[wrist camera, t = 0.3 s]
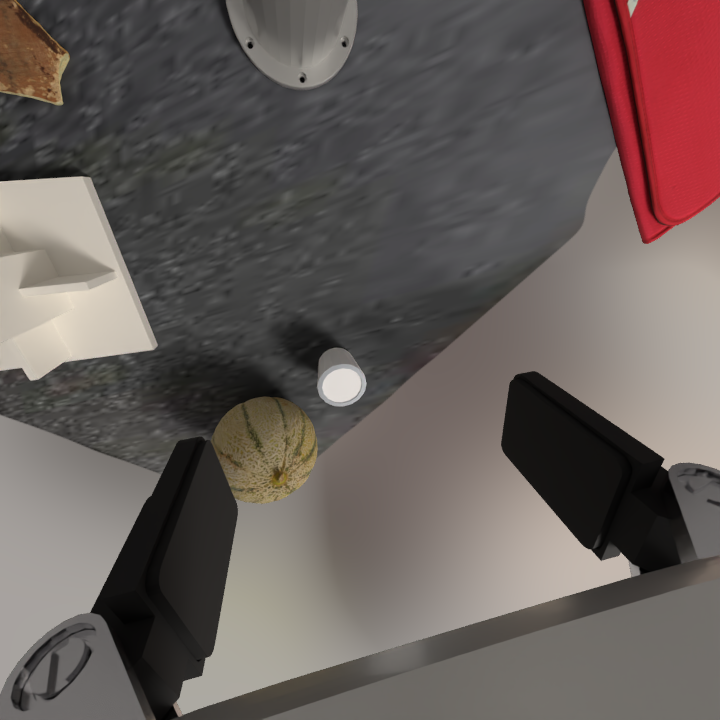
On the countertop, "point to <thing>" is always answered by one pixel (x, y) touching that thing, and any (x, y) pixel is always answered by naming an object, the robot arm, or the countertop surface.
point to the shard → (29, 56)
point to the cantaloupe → (265, 448)
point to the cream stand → (63, 279)
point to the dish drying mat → (662, 103)
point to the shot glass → (340, 378)
